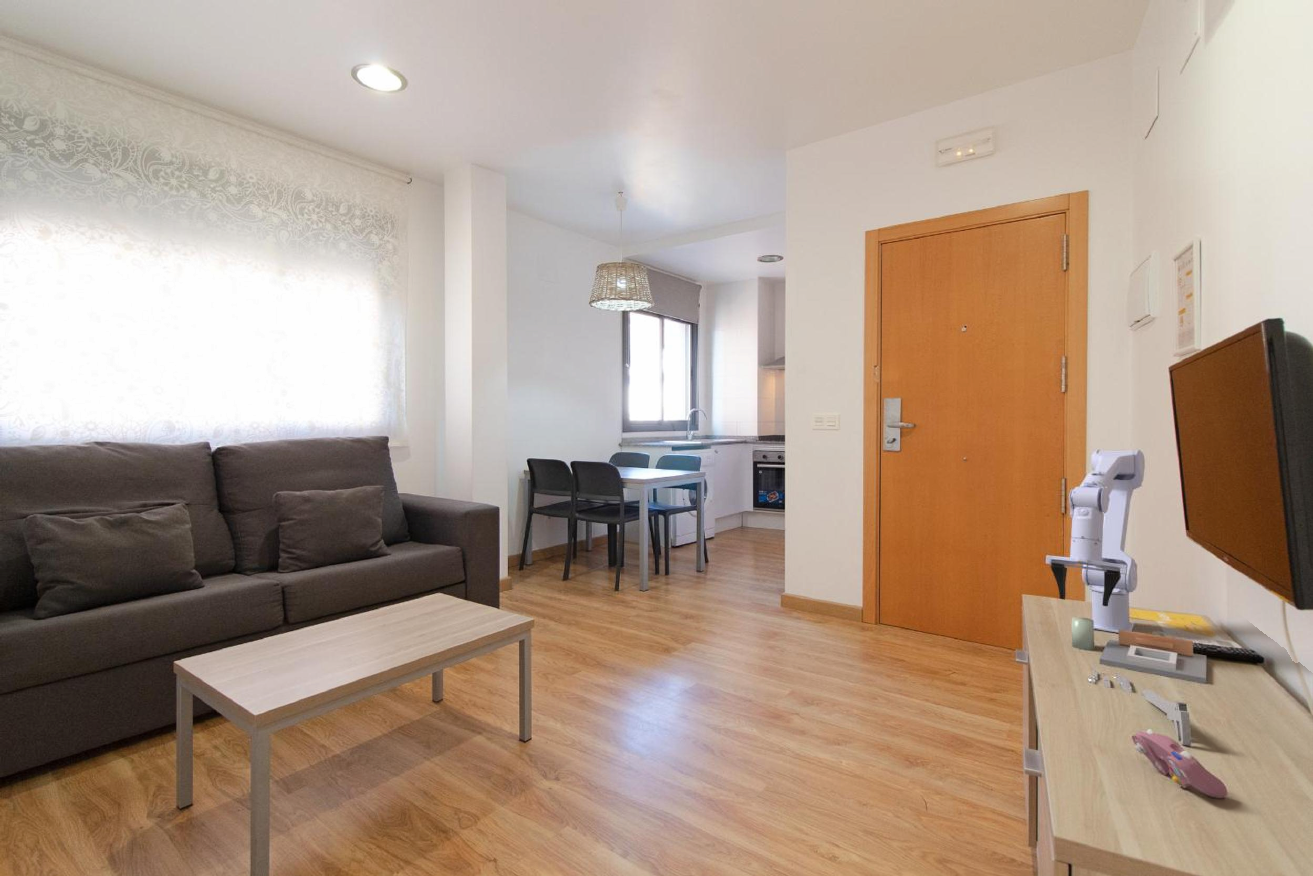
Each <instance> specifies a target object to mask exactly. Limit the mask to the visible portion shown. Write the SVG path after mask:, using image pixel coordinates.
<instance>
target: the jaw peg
mask: <svg viewBox="0 0 1313 876" xmlns="http://www.w3.org/2000/svg"><path fill="white" fill-rule="evenodd" d="M1071 645H1072V647H1073V648H1075V649H1077V648H1078V650H1082V649H1083V651H1094V650H1095V629H1094V621H1093V620H1092V619H1091V618H1088V617H1082V616H1074V617H1071Z"/></svg>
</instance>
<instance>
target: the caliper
mask: <svg viewBox="0 0 1313 876" xmlns="http://www.w3.org/2000/svg"><path fill="white" fill-rule="evenodd" d="M1140 693H1141V694H1142V695H1143V697H1144V699H1146V700H1147V701H1148V702H1149V703H1150V704H1152V705H1154V706H1155V707H1157V708H1158V709H1160V710H1161V711H1162V712H1164V713H1166V719H1167V720H1169V721H1170V722H1174V728H1175V734H1176V738H1177V740H1178V741H1179V742H1181V745H1183V746H1188V747H1189V746H1190V747H1191V746H1192V735H1191V734H1192V732H1191V731H1192V730H1191V729H1192V728H1191V719H1190V712H1189V711H1188V706H1187V702H1186V703H1185V702H1184V701H1180V700H1174V701H1175V702H1173V701H1172V702H1171V701H1168V700H1166V699H1165V698H1163V697H1162V696H1160V695H1159V694H1157V693H1155V692H1154V691H1152V690H1151V689H1144V688H1142V690H1141V692H1140Z"/></svg>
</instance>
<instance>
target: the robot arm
mask: <svg viewBox="0 0 1313 876" xmlns="http://www.w3.org/2000/svg"><path fill="white" fill-rule="evenodd" d="M1090 462H1091V469H1092V470H1091V472H1089V473H1087V474H1086V476H1085V478H1084V479H1083V480H1082V482H1081V484H1080V485H1079V486H1075V487H1074V488H1072V489H1070V491H1069V495H1068V505H1069V510H1070V511H1069V516H1070V518H1071V530H1070V531H1071V532H1070V533H1071V534H1070V535H1071V536H1070V548H1069V549H1070V550H1069V551H1070V552H1069V556H1068V557H1067V556H1059V555H1058V556H1057V555H1049V554H1047V555H1046V556H1045V564H1046V565H1050V569H1051V572H1052V573H1053V576H1054V579H1055V582H1056V586H1057V588H1058V593H1059V594H1058V595H1059V599H1060V600H1064V601H1065V600H1066V582H1067V581H1066V579H1067V572H1068V568H1075V569H1082V570H1081V578H1082V582H1083V583H1084V584H1085V586H1086V587H1088V590H1090V591H1091V617H1092V620H1093V621H1094V630H1099V631H1104V632H1112V633H1117V634H1118V631H1119V629H1120V630H1126V631H1133V629H1134V628H1135V627H1134V626H1135V622H1130V619H1131V618H1130V593H1133V592H1135V591H1136V589H1137V588H1138V587H1137V586H1138V565H1137V562H1136V560H1135V559H1134V558H1133V557H1131V555H1129V554H1127V552H1125V547H1126V541H1127V540H1126V539H1127V530H1128V523H1129V514H1130V506H1131V500H1132V496H1133V493H1134V490H1137V489H1139V488H1141V487H1142V486H1143V482H1144V477H1145V475H1144V474H1145V466H1146V463H1145V462H1146V461H1145V455H1144V453H1143V452H1142V451H1141V450H1140V449H1136V450H1135V449H1133V450H1100V449H1096V450H1095V451H1094V452H1092V454H1091V460H1090Z"/></svg>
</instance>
